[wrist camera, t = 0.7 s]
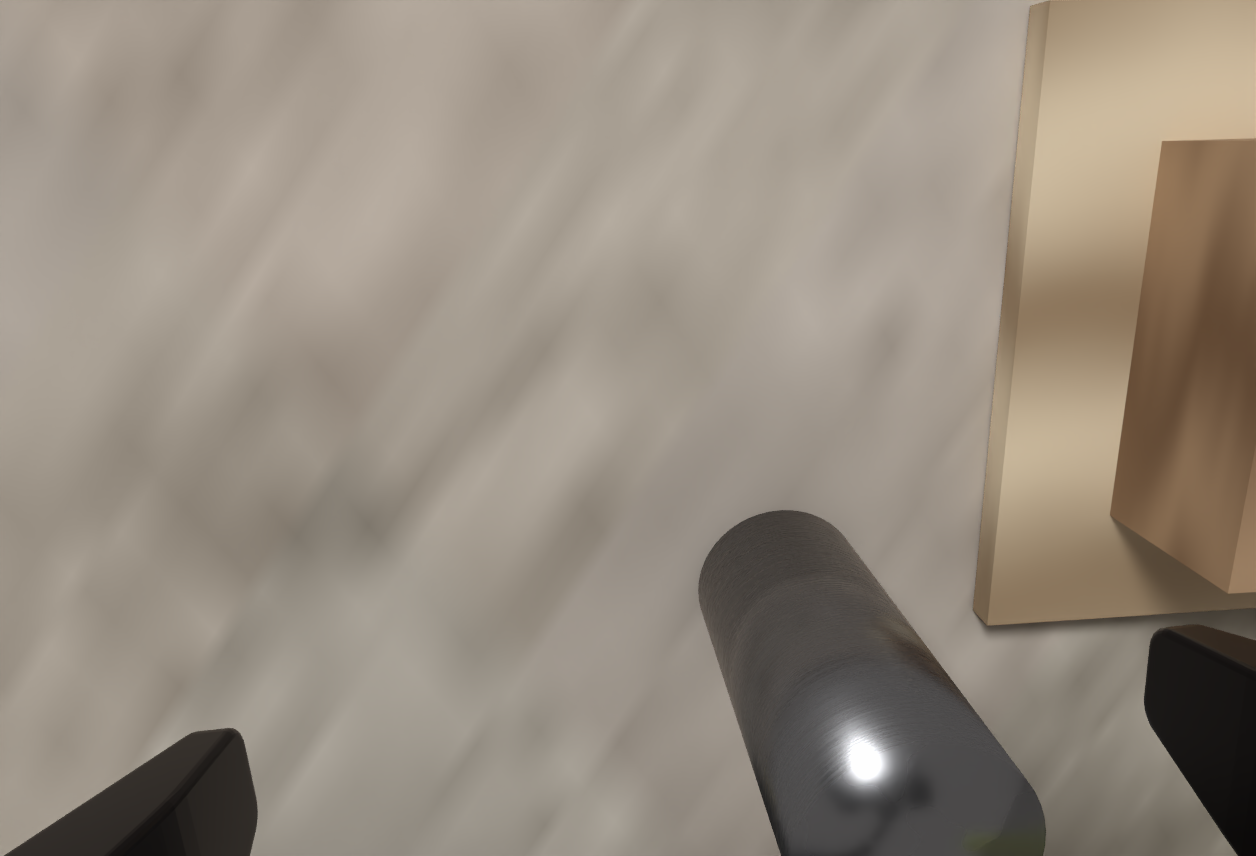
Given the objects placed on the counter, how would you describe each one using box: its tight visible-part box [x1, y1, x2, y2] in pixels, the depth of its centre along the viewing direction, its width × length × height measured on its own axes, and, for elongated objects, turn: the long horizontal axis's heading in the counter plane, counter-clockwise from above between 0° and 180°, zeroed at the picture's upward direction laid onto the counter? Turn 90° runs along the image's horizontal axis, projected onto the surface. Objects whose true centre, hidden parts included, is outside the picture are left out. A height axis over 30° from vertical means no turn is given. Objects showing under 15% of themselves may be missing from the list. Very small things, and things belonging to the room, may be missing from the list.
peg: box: [698, 510, 1046, 856], centre depth 18 cm, size 4×4×9 cm
